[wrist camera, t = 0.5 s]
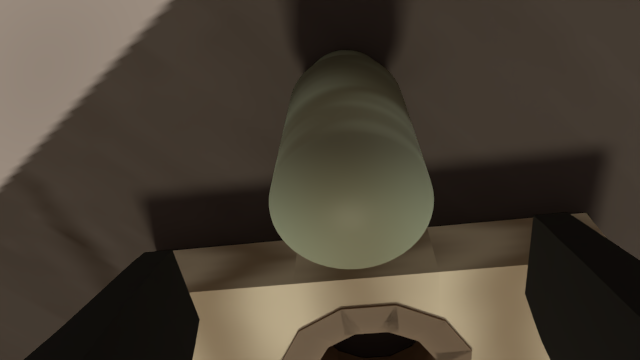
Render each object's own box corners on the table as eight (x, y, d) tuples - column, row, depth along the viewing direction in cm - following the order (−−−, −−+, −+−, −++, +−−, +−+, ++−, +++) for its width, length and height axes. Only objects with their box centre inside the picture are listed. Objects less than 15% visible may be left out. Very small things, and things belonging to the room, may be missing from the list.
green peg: (393, 31, 17) (432, 122, 10) (399, 131, 19) (434, 262, 12) (285, 46, 17) (253, 143, 11) (302, 141, 19) (284, 275, 13)
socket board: (586, 212, 21) (622, 259, 18) (554, 382, 27) (578, 435, 24) (156, 251, 23) (132, 298, 20) (217, 401, 29) (205, 453, 26)
